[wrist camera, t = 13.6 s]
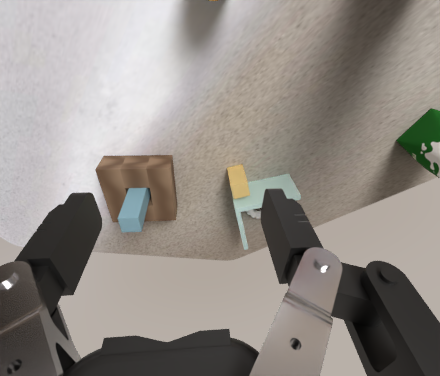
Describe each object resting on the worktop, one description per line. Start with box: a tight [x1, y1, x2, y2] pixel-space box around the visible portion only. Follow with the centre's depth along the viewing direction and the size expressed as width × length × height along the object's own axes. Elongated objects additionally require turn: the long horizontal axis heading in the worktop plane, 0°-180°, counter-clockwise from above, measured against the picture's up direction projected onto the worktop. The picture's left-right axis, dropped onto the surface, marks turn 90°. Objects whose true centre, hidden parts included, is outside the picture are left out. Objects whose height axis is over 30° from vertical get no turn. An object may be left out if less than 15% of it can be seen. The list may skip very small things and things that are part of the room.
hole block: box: [96, 155, 177, 222], centre depth 45 cm, size 12×12×4 cm
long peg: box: [118, 188, 151, 232], centre depth 42 cm, size 3×3×12 cm
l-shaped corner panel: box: [230, 174, 301, 250], centre depth 50 cm, size 12×12×8 cm
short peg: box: [227, 164, 250, 199], centre depth 45 cm, size 3×3×6 cm
